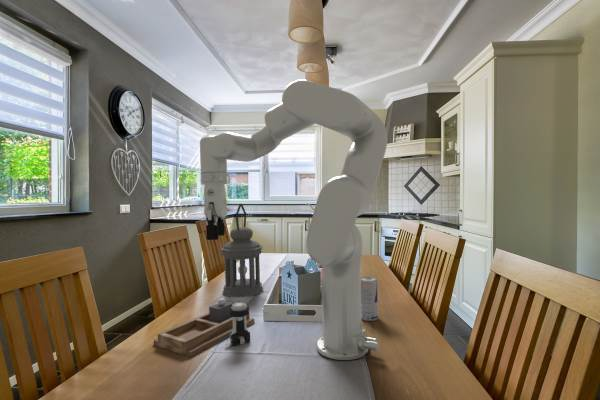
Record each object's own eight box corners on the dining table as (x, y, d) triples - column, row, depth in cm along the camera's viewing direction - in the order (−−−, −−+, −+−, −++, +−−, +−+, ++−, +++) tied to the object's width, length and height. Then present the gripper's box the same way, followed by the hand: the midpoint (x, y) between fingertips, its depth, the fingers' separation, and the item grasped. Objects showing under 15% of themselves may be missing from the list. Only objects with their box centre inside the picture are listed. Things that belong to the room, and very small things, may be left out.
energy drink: (379, 316, 103) (378, 277, 103) (375, 322, 98) (375, 281, 98) (362, 314, 105) (361, 276, 105) (358, 320, 100) (357, 280, 100)
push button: (229, 350, 82) (228, 310, 82) (221, 343, 87) (220, 305, 87) (254, 343, 86) (252, 304, 86) (245, 336, 91) (244, 299, 90)
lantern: (261, 297, 125) (258, 203, 124) (216, 298, 125) (214, 204, 125) (266, 285, 142) (264, 202, 141) (227, 285, 142) (225, 203, 142)
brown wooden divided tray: (254, 322, 100) (254, 312, 100) (190, 357, 80) (190, 343, 80) (220, 314, 107) (219, 305, 107) (153, 344, 87) (153, 332, 87)
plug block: (234, 319, 100) (233, 297, 100) (219, 326, 95) (218, 303, 95) (224, 317, 102) (223, 295, 102) (209, 324, 97) (208, 301, 97)
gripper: (221, 177, 90) (223, 241, 90) (231, 180, 107) (233, 233, 107) (193, 178, 89) (195, 242, 90) (208, 180, 107) (209, 234, 107)
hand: (216, 237), depth 98 cm, fingers open, 9 cm apart
